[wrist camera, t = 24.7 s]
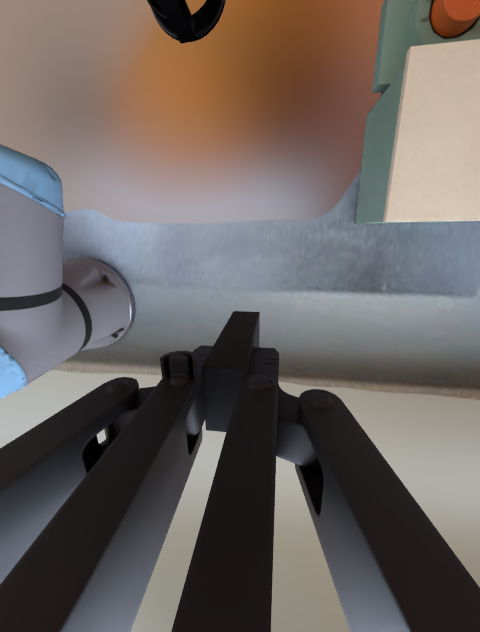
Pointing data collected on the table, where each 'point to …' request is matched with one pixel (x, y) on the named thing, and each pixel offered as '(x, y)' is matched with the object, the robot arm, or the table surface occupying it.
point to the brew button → (454, 16)
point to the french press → (186, 18)
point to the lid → (437, 136)
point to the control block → (407, 36)
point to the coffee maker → (379, 156)
